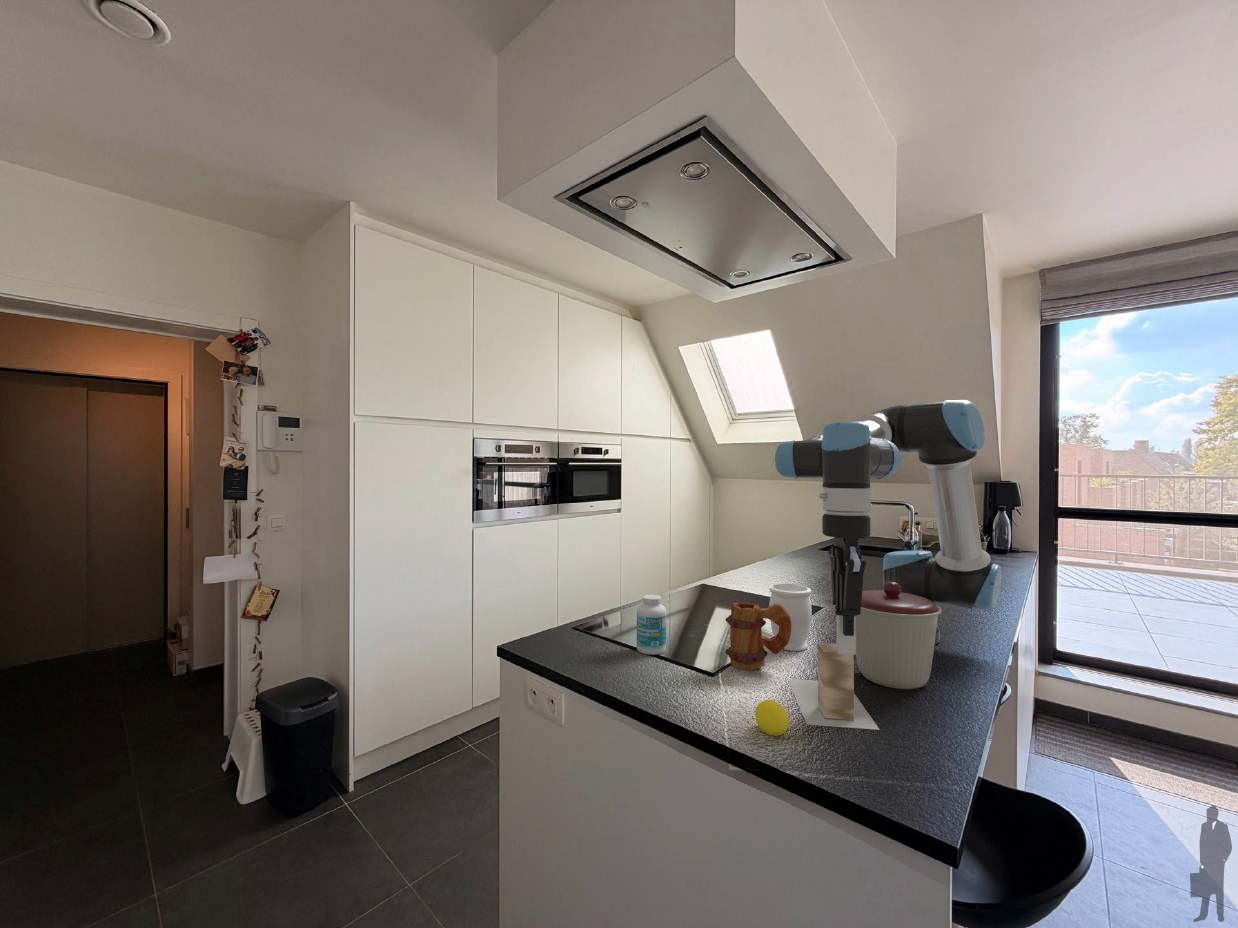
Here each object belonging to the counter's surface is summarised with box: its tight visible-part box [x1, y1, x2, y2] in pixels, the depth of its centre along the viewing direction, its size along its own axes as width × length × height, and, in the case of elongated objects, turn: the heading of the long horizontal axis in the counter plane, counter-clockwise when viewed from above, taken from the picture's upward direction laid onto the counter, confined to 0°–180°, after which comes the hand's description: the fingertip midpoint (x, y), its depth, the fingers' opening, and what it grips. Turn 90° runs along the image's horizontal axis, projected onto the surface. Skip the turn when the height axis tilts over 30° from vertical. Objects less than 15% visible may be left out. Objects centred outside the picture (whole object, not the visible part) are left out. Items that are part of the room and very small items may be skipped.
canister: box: [855, 582, 943, 690], centre depth 111 cm, size 18×18×21 cm
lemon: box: [754, 699, 790, 737], centre depth 88 cm, size 7×5×5 cm
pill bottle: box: [636, 594, 667, 656], centre depth 129 cm, size 8×7×14 cm
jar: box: [768, 583, 813, 652], centre depth 132 cm, size 11×10×15 cm
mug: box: [724, 602, 792, 671], centre depth 117 cm, size 15×8×15 cm, turn 70°
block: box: [817, 642, 855, 721], centre depth 94 cm, size 5×5×12 cm
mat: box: [787, 678, 881, 731], centre depth 99 cm, size 12×20×1 cm, turn 171°
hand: (846, 652), depth 87 cm, fingers closed
